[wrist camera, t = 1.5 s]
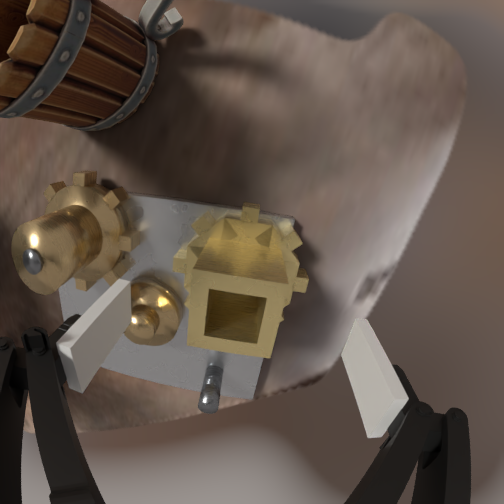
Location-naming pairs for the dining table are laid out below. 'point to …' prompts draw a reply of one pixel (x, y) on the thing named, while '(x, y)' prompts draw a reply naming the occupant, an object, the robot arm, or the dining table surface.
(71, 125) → the mug
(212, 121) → the dining table surface
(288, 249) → the gear
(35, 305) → the dining table surface
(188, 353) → the carrier
